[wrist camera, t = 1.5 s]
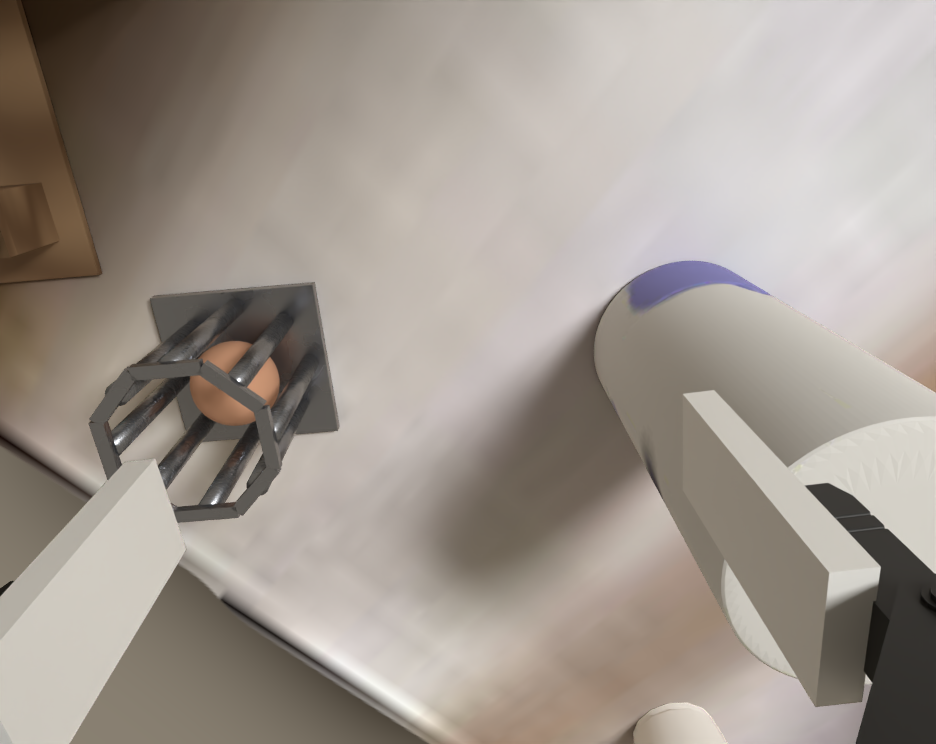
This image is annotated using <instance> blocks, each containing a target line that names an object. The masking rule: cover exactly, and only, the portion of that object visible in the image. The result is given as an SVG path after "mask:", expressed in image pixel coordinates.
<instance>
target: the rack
mask: <svg viewBox="0 0 936 744" xmlns="http://www.w3.org/2000/svg"><path fill="white" fill-rule="evenodd" d="M99 274H102V271H101V267H100V264H99V261H98V257H97V254H96V250H95V247H94V244H93V240H92V237H91V234H90V230H89V227H88V224H87V220H86V217H85V214H84V210H83V207H82V204H81V200H80V197H79V193H78V190H77V187H76V183H75V180H74V177H73V173H72V170H71V167H70V163H69V160H68V157H67V153H66V150H65V147H64V143H63V140H62V136H61V133H60V130H59V126H58V123H57V120H56V116H55V113H54V110H53V106H52V103H51V100H50V96H49V93H48V90H47V86H46V83H45V79H44V76H43V73H42V69H41V66H40V63H39V59H38V56H37V53H36V49H35V46H34V43H33V39H32V36H31V33H30V29H29V26H28V22H27V19H26V16H25V12H24V9H23V6H22V2H21V0H0V283H8V282H20V281H32V280H44V279H56V278H68V277H79V276H91V275H99Z"/></svg>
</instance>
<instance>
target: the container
mask: <svg viewBox="0 0 936 744" xmlns="http://www.w3.org/2000/svg"><path fill="white" fill-rule="evenodd" d="M594 362H595V367H596V372H597V375H598V378H599V380H600V382H601V384H602V386H603V388H604V390H605V392H606V394H607V396H608V397H609V399H610V401H611V403H612V405H613V407H614V409H615V410H616V412H617V414H618V416H619V418H620V420H621V422H622V424H623V426H624V427H625V429H626V431H627V433H628V435H629V437H630V439H631V441H632V442H633V444H634V446H635V448H636V450H637V452H638V454H639V456H640V457H641V459H642V461H643V463H644V465H645V467H646V469H647V471H648V472H649V474H650V476H651V478H652V480H653V482H654V484H655V486H656V487H657V489H658V491H659V493H660V495H661V497H662V499H663V500H664V502H665V504H666V506H667V508H668V510H669V512H670V514H671V516H672V517H673V519H674V521H675V523H676V525H677V527H678V529H679V531H680V532H681V534H682V536H683V538H684V540H685V542H686V544H687V546H688V547H689V549H690V551H691V553H692V555H693V557H694V559H695V561H696V562H697V564H698V566H699V568H700V570H701V572H702V574H703V576H704V578H705V579H706V581H707V583H708V585H709V587H710V589H711V591H712V593H713V594H714V596H715V598H716V600H717V602H718V604H719V606H720V608H721V609H722V611H723V613H724V615H725V617H726V619H727V621H728V623H729V624H730V626H731V628H732V630H733V632H734V633H735V635H736V636H737V638H738V639H739V641H740V642H741V643H742V644H743V646H744V647H745V648H746V649H747V650H748V651H749V652H750V653H751V654H752V655H754V656H755V657H756V658H757V659H759V660H760V661H761V662H763V663H764V664H766V665H767V666H769V667H771V668H773V669H775V670H776V671H779V672H781V673H783V674H786V675H788V676H791V677H794V678H797V676H796V675H795V673H794V671H793V670H792V668H791V666H790V665H789V663H788V661H787V660H786V658H785V657H784V655H783V653H782V652H781V650H780V648H779V647H778V645H777V643H776V642H775V640H774V639H773V637H772V635H771V634H770V632H769V630H768V629H767V627H766V626H765V624H764V622H763V621H762V619H761V617H760V616H759V614H758V612H757V611H756V609H755V608H754V606H753V604H752V603H751V601H750V599H749V598H748V596H747V594H746V593H745V591H744V590H743V588H742V586H741V585H740V583H739V581H738V580H737V578H736V576H735V575H734V573H733V572H732V570H731V568H730V567H729V565H728V563H727V562H726V560H725V559H724V557H723V555H722V554H721V552H720V550H719V549H718V547H717V545H716V544H715V542H714V541H713V539H712V537H711V536H710V534H709V532H708V531H707V529H706V527H705V526H704V524H703V523H702V521H701V519H700V518H699V516H698V514H697V513H696V511H695V509H694V508H693V506H692V505H691V503H690V501H689V500H688V498H687V496H686V495H685V493H684V492H683V394H686V393H694V392H702V391H710V390H715V392H716V393H717V394H718V395H719V396H720V397H721V398H722V399H723V400H724V401H725V402H726V403H727V404H728V405H729V406H730V407H731V408H732V410H733V411H734V412H735V413H736V414H737V415H738V416H739V417H740V418H741V419H742V420H743V421H744V422H745V423H746V424H747V425H748V427H749V428H750V429H751V430H752V431H753V432H754V433H755V434H756V435H757V436H758V437H759V438H760V439H761V440H762V441H763V442H764V443H765V445H766V446H767V447H768V448H769V449H770V450H771V451H772V452H773V453H774V454H775V455H776V456H777V457H778V458H779V459H780V460H781V461H782V463H783V464H784V465H785V466H786V467H787V468H788V469H789V470H790V471H791V472H792V473H793V474H794V475H795V476H796V477H797V478H798V479H799V481H800V482H801V483H802V484H803V485H804V486H805V485H813V484H821V483H830V484H832V485H834V486H836V487H837V488H839V489H841V490H843V491H845V492H847V493H849V494H851V495H853V496H854V497H855V498H856V499H857V500H858V501H859V502H860V503H862V504H863V505H864V506H865V507H866V508H867V509H868V510H869V511H870V514H871V515H874V516H875V517H876V518H877V519H878V520H879V521H880V522H881V523H882V524H883V525H884V527H885V529H889V530H890V531H891V532H892V533H893V534H894V535H895V536H896V537H897V538H898V539H899V540H900V541H901V542H902V543H903V544H904V545H905V546H907V547H908V548H909V549H910V550H911V551H912V552H913V553H914V554H915V555H916V556H917V557H918V558H919V559H920V560H921V561H922V562H923V563H924V564H925V565H926V566H927V567H928V568H930V569H931V570H932V571H933V572H934V573H935V574H936V393H935V392H933V391H932V390H930V389H928V388H927V387H925V386H923V385H922V384H920V383H918V382H917V381H915V380H913V379H912V378H910V377H908V376H907V375H905V374H903V373H902V372H900V371H898V370H896V369H895V368H893V367H891V366H890V365H888V364H886V363H885V362H883V361H881V360H880V359H878V358H876V357H875V356H873V355H871V354H870V353H868V352H866V351H864V350H863V349H861V348H859V347H858V346H856V345H854V344H853V343H851V342H849V341H848V340H846V339H844V338H843V337H841V336H839V335H838V334H836V333H834V332H833V331H831V330H829V329H827V328H826V327H824V326H822V325H821V324H819V323H817V322H816V321H814V320H812V319H811V318H809V317H807V316H806V315H804V314H802V313H801V312H799V311H797V310H796V309H794V308H792V307H790V306H789V305H787V304H785V303H784V302H782V301H780V300H779V299H777V298H775V297H774V296H772V295H770V294H769V293H767V292H765V291H764V290H762V289H760V288H759V287H757V286H755V285H753V284H752V283H750V282H748V281H747V280H745V279H743V278H742V277H740V276H738V275H737V274H735V273H733V272H732V271H730V270H728V269H726V268H724V267H721V266H719V265H716V264H712V263H707V262H701V261H681V262H674V263H669V264H665V265H662V266H659V267H656V268H654V269H652V270H649V271H647V272H645V273H644V274H642V275H640V276H639V277H637V278H635V279H634V280H633V281H631V282H630V283H629V284H628V285H626V286H625V287H624V288H623V289H622V290H621V291H620V292H619V293H618V294H617V295H616V296H615V298H614V299H613V300H612V301H611V303H610V304H609V306H608V307H607V309H606V311H605V312H604V314H603V316H602V318H601V321H600V323H599V326H598V329H597V332H596V337H595V343H594ZM797 679H798V678H797ZM865 684H872V682H871V681H870V679H869V678H868V676H867V675H866V676H865Z"/></svg>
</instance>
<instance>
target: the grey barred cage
mask: <svg viewBox="0 0 936 744" xmlns="http://www.w3.org/2000/svg"><path fill="white" fill-rule="evenodd" d="M150 301H151V305H152V308H153V312H154V316H155V319H156V323H157V327H158V330H159V334H160V338H161V341H162V343H161V344H160V345H159V346H158V347H156V348H155V349H154V350H153V351H151V352H150V353H149V354H148V355H147V356H145V357H144V358H143V359H142V360H140V361H139V362H138V363H137V364H132V365H131V366H130V367H127V368H126V369H124V371H123V372H122V373H121V375H120V376H119V378H118V379H117V380H116V381H115V382H113V383H112V384H111V385H110V386H108V387H107V389H106V391H105V397H104V399H103V400H102V402H101V403H100V404H99V406H98V407H97V409H96V410H95V412H94V413H93V414H92V416H91V417H90V420H91V422H90V423H89V426H90V429H91V432H92V435H93V438H94V441H95V444H96V447H97V450H98V453H99V456H100V459H101V462H102V465H103V468H104V471H105V474H106V477H107V480H109V479H110V478H111V476H112V475H113V474H114V473H115V472H116V471H117V470H118V469H119V468H120V467H121V466H122V464H121V461H120V458H119V455H120V454H121V453H122V452H123V451H124V450H125V449H126V448H127V447H128V446H129V445H130V444H131V443H132V442H133V441H134V440H135V439H136V438H137V437H138V436H139V434H140V433H141V432H142V431H143V430H144V429H145V428H146V427H147V426H148V425H149V424H150V423H151V422H152V421H153V420H154V419H155V418H156V417H157V416H158V415H159V414H160V412H161V411H162V410H163V409H164V408H165V407H166V406H167V405H168V404H169V403H170V402H171V401H172V400H173V399H174V398H175V397H176V396H177V400H178V403H179V407H180V411H181V414H182V418H183V422H184V425H185V429H186V432H185V433H184V434H183V436H182V437H181V438H180V439H179V441H178V442H177V443H176V444H175V445H174V447H173V448H172V449H171V450H170V452H169V453H168V454H167V455H166V456H165V458H164V459H163V460H162V461H161V463H160V464H159V465H158V468H159V471H160V474H161V477H162V480H163V483H164V486H165V489H167V488H168V487H169V485H170V484H171V483H172V481H173V480H174V479H175V477H176V476H177V475H178V473H179V472H180V471H181V469H182V468H183V467H184V465H185V464H186V463H187V461H188V460H189V459H190V457H191V456H192V455H193V453H194V452H195V451H196V449H197V448H198V447H199V445H200V444H201V443H202V442H205V441H217V440H229V439H240V440H239V442H238V443H237V445H236V447H235V448H234V450H233V451H232V453H231V454H230V456H229V458H228V459H227V461H226V462H225V464H224V465H223V467H222V469H221V470H220V472H219V473H218V475H217V476H216V478H215V479H214V481H213V483H212V484H211V486H210V487H209V489H208V490H207V492H206V494H205V495H204V497H203V498H202V500H201V501H200V503H199V505H194V506H182V507H177V506H175V505H174V504H172V503H171V506H172V509H173V512H174V515H175V518H176V520H177V523H179V522H192V521H204V520H217V519H229V518H239V516H240V515H242V516H243V515H244V514H245V512H246V511H247V510H248V509H249V508H250V506H251V505H252V504H253V503H254V502H255V501H256V499H257V498H258V497H259V496H260V495H264V494H265V493H266V492H267V491H268V489H269V487H270V485H271V483H272V481H273V479H274V478H275V477H276V476H277V475H278V474H279V472H280V470H281V466H282V460H283V458H284V456H285V454H286V451H287V449H288V447H289V445H290V443H291V441H292V439H293V437H294V435H295V434H303V433H315V432H328V431H338V429H339V420H338V415H337V409H336V403H335V397H334V391H333V386H332V380H331V374H330V368H329V363H328V357H327V351H326V345H325V340H324V334H323V328H322V322H321V317H320V311H319V305H318V299H317V293H316V288H315V282H312V283H300V284H288V285H276V286H264V287H252V288H240V289H228V290H216V291H204V292H192V293H181V294H169V295H157V296H153V297H152V298H150ZM228 341H243V342H247V343H250V344H253V345H252V346H251V347H250V348H249V349H248V350H247V352H246V353H245V354H244V355H243V356H242V358H241V359H240V360H239V361H238V362H237V364H236V365H235V366H234V367H233V368H232V370H231V371H230V372H229V373H228V374H227V373H226V372H224V371H223V370H221V369H220V368H218V367H217V366H216V365H214V364H213V363H211V362H210V361H208V360H207V361H206V362H205V363H203V359H198V358H199V357H200V356H201V355H202V354H203V353H204V352H205V351H206V350H208V349H209V348H211V347H213V346H215V345H217V344H220V343H223V342H228ZM269 357H271V359H272V360H273V362H274V363H275V365H276V367H277V370H278V374H279V379H280V387H279V393H278V396H277V399H276V401H275V403H274V405H273V406H272V407H271V409H270V405H265V403H266V400H265V399H263V398H262V397H260V396H259V395H257V394H256V393H255V392H253V391H252V390H250V389H249V388H247V387H248V386H249V384H250V383H251V381H252V380H253V379H254V377H255V376H256V375H257V373H258V372H259V370H260V369H261V368H262V366H263V365H264V364H265V362H266V361H267V360H268V358H269ZM197 375H199V376H201V377H202V378H204V379H205V380H207V381H208V382H210V383H211V384H213V385H214V386H216V387H217V388H219V389H220V390H221V391H223V392H224V393H226V394H227V395H229V396H230V397H232V398H233V399H235V400H236V401H238V402H239V403H241V404H242V405H243V406H245V407H246V408H248V409H249V410H251V411H252V412H254V415H255V420H256V421H254V422H252V423H249V424H245V425H239V426H230V425H224V424H220V423H217V422H215V421H213V420H211V419H209V418H208V417H207V416H205V415H204V414H203V413H202V412H201V411H200V410H199V409H198V407H197V406H196V404H195V403H194V401H193V398H192V395H191V391H190V376H197ZM161 378H167V379H166V380H165V381H164V382H162V383H161V384H160V385H159V386H158V387H157V388H156V389H155V390H154V391H153V392H152V393H151V394H150V395H149V396H148V397H147V398H146V399H145V400H144V401H143V402H141V403H140V404H139V405H138V406H137V407H136V408H135V409H134V410H133V411H132V412H131V413H130V414H129V415H128V416H127V417H126V418H125V419H124V420H123V421H122V422H120V423H119V424H118V425H117V426H116V427H115V428H114V429H113V430H112V431H111V430H110V427H109V423H108V420H109V418H110V417H111V416H112V414H113V413H114V411H115V410H116V409H117V407H118V406H121V405H124V404H126V403H127V402H128V401H129V400H130V399H131V398H132V397H134V396H135V395H136V394H137V393H138V392H139V391H140V390H141V389H142V388H143V387H145V386H146V385H147V384H148V383H149V382H150V381H151V380H152V379H161ZM259 442H261V446H262V450H263V454H262V456H261V458H260V460H259V461H258V463H257V465H256V467H255V469H254V471H253V472H252V474H251V476H250V478H249V480H248V482H247V489H246V490H245V492H244V493H243V494H242V495H241V496H240V498H239V499H238V500H237V501H236V502H232V503H225V502H226V500H227V498H228V496H229V495H230V493H231V491H232V489H233V488H234V486H235V484H236V482H237V481H238V479H239V477H240V475H241V474H242V472H243V470H244V468H245V467H246V465H247V463H248V462H249V460H250V458H251V456H252V455H253V453H254V451H255V449H256V448H257V446H258V444H259Z"/></svg>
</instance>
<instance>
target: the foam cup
mask: <svg viewBox="0 0 936 744" xmlns="http://www.w3.org/2000/svg"><path fill="white" fill-rule="evenodd" d="M633 737H634V744H728V743H727V741H726V739H725V738H724V736H723V734H722V733H721V731H720V729H719V728H718V726H717V725H716V724H715V722H714V720H713V718H712V717H711V716H710V715H709V714H708V713H707V712H706V711H705V710H704V709H703V708H701V707H698V706H696V705H693V704H690V703H668V704H665V705H662V706H660V707H657V708H654V709H651V710H650V711H649V712H648V713H647V714H645V715H644V716H643V717H642V718H641V719H639V720H638V722H637V725H636V727H635V729H634V732H633Z"/></svg>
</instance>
